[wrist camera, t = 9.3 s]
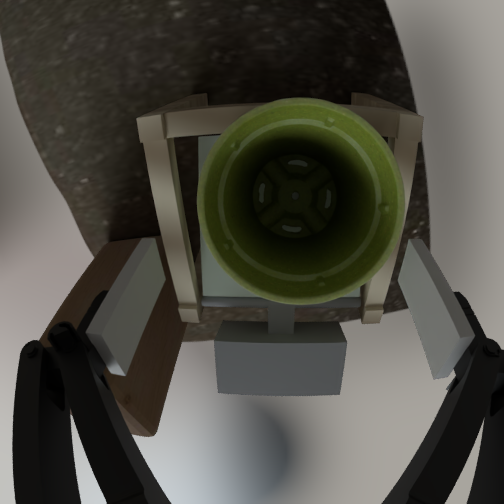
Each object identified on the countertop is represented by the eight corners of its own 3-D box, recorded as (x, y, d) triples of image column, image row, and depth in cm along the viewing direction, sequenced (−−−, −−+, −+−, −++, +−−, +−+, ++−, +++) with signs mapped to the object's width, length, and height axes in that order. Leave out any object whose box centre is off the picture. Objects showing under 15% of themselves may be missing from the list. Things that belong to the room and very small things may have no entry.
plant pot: (353, 265, 22) (391, 309, 14) (226, 257, 23) (195, 298, 14) (361, 138, 20) (408, 111, 12) (231, 130, 21) (201, 95, 12)
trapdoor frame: (191, 94, 25) (136, 118, 15) (367, 93, 24) (423, 117, 14) (208, 241, 34) (181, 321, 24) (353, 241, 33) (379, 323, 23)
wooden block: (175, 229, 34) (101, 386, 17) (199, 296, 39) (158, 442, 23) (104, 239, 35) (18, 367, 19) (133, 299, 41) (77, 424, 24)
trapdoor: (203, 142, 24) (190, 133, 20) (357, 141, 23) (371, 132, 19) (213, 367, 27) (203, 391, 23) (345, 369, 26) (353, 393, 22)
